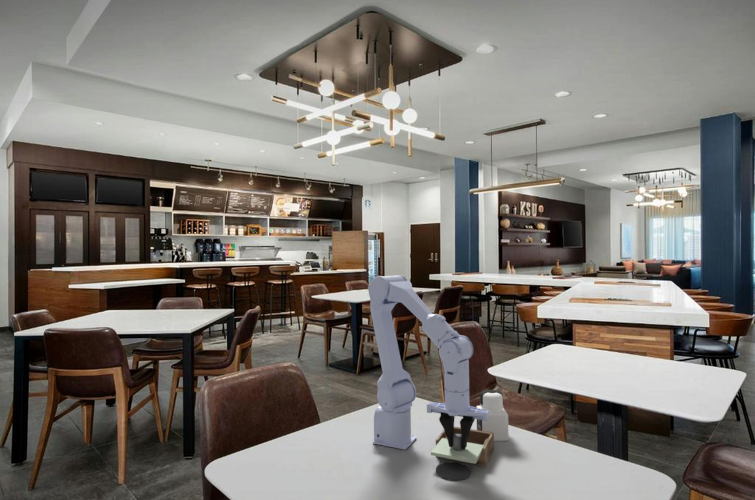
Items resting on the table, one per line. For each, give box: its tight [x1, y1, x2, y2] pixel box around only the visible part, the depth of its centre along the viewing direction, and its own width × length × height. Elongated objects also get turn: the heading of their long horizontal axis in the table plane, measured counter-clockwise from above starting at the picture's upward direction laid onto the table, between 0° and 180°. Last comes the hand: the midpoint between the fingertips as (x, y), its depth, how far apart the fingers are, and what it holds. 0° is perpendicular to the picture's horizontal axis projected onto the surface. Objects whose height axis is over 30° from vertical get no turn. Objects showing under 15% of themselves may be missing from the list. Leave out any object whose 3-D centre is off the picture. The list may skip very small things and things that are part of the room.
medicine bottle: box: [476, 389, 510, 442], centre depth 120 cm, size 7×7×12 cm
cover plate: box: [430, 434, 484, 465], centre depth 104 cm, size 9×10×4 cm
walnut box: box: [435, 425, 495, 467], centre depth 110 cm, size 10×12×4 cm
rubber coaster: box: [435, 461, 472, 482], centre depth 101 cm, size 8×8×1 cm
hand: (457, 446), depth 104 cm, fingers closed on cover plate, 2 cm apart
